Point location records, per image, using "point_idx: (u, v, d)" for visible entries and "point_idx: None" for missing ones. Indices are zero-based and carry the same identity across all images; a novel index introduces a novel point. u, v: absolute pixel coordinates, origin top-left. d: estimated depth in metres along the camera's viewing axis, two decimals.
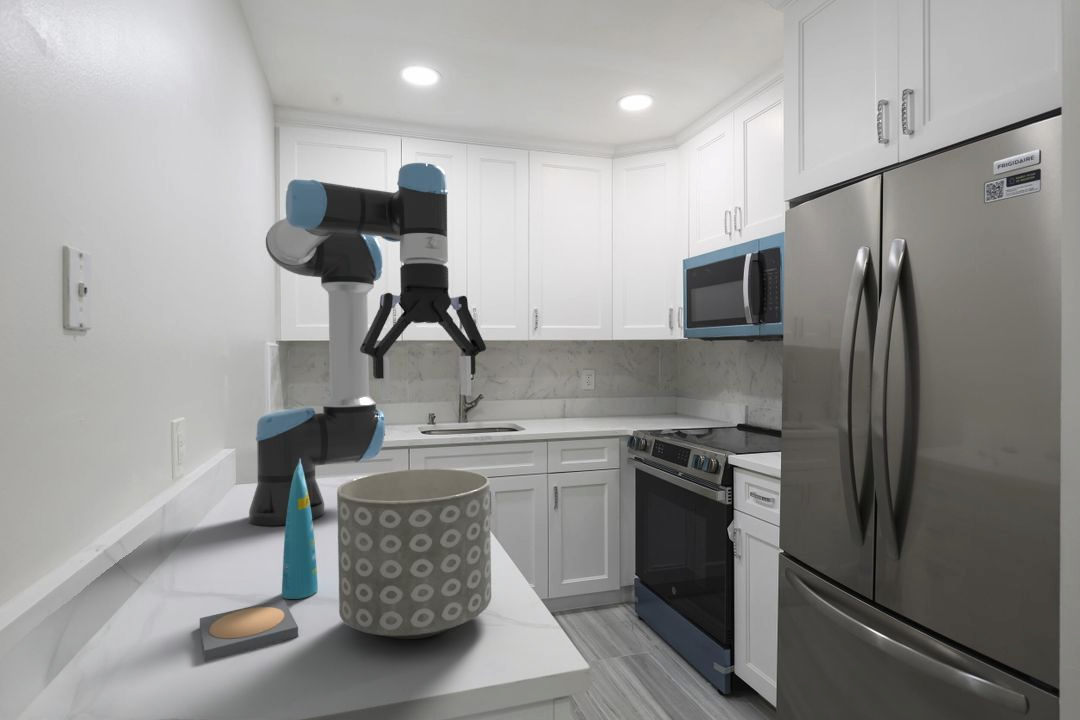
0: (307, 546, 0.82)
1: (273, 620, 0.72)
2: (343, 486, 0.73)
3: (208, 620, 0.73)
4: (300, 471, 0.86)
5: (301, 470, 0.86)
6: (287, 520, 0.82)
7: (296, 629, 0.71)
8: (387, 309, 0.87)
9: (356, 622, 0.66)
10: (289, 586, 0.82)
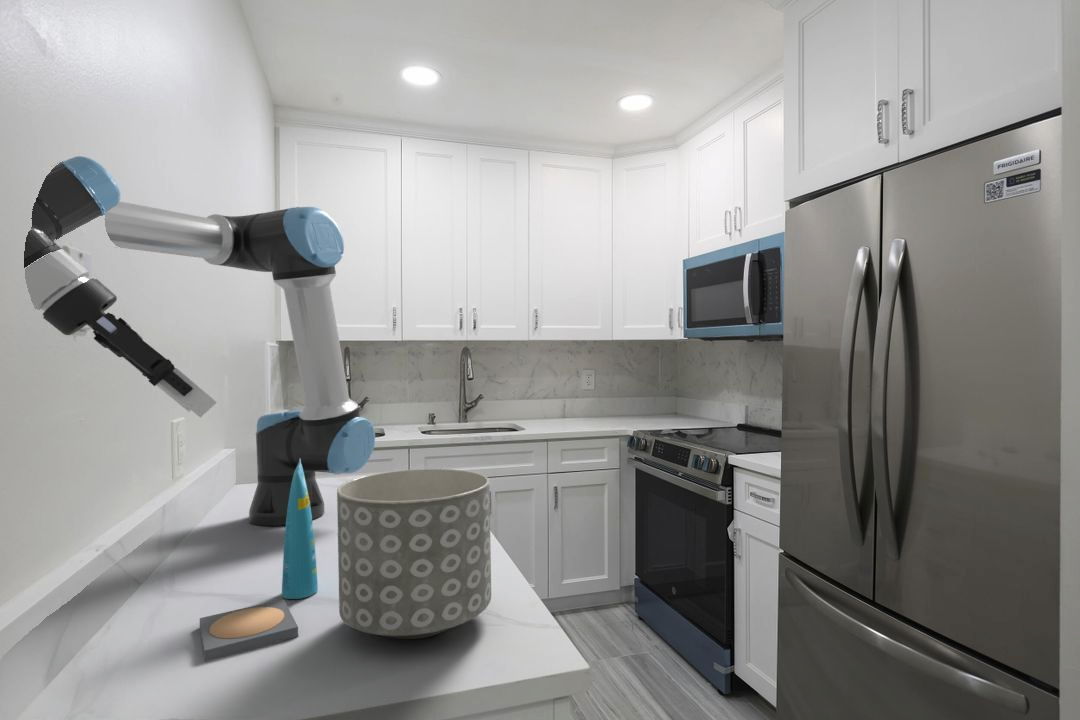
0: (307, 546, 0.82)
1: (273, 620, 0.72)
2: (343, 486, 0.73)
3: (208, 620, 0.73)
4: (300, 471, 0.86)
5: (301, 470, 0.86)
6: (287, 520, 0.82)
7: (296, 629, 0.71)
8: None
9: (356, 622, 0.66)
10: (289, 586, 0.82)
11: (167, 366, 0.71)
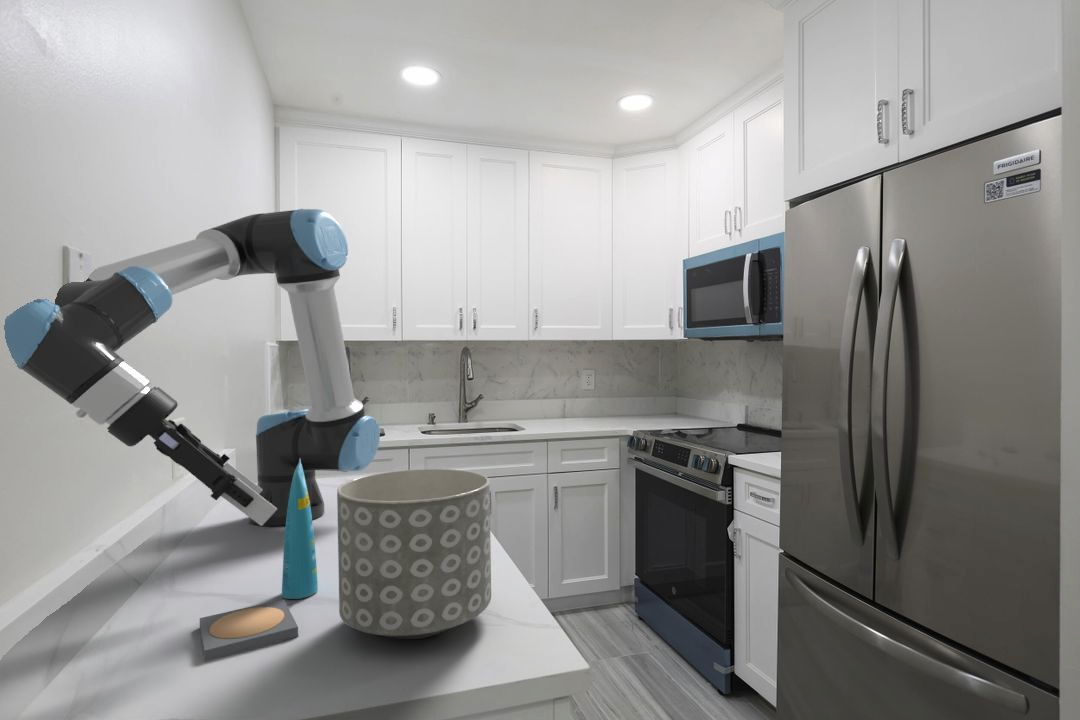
0: (307, 546, 0.82)
1: (273, 620, 0.72)
2: (343, 486, 0.73)
3: (208, 620, 0.73)
4: (300, 471, 0.86)
5: (301, 470, 0.86)
6: (287, 520, 0.82)
7: (296, 629, 0.71)
8: None
9: (356, 622, 0.66)
10: (289, 586, 0.82)
11: (228, 481, 0.70)
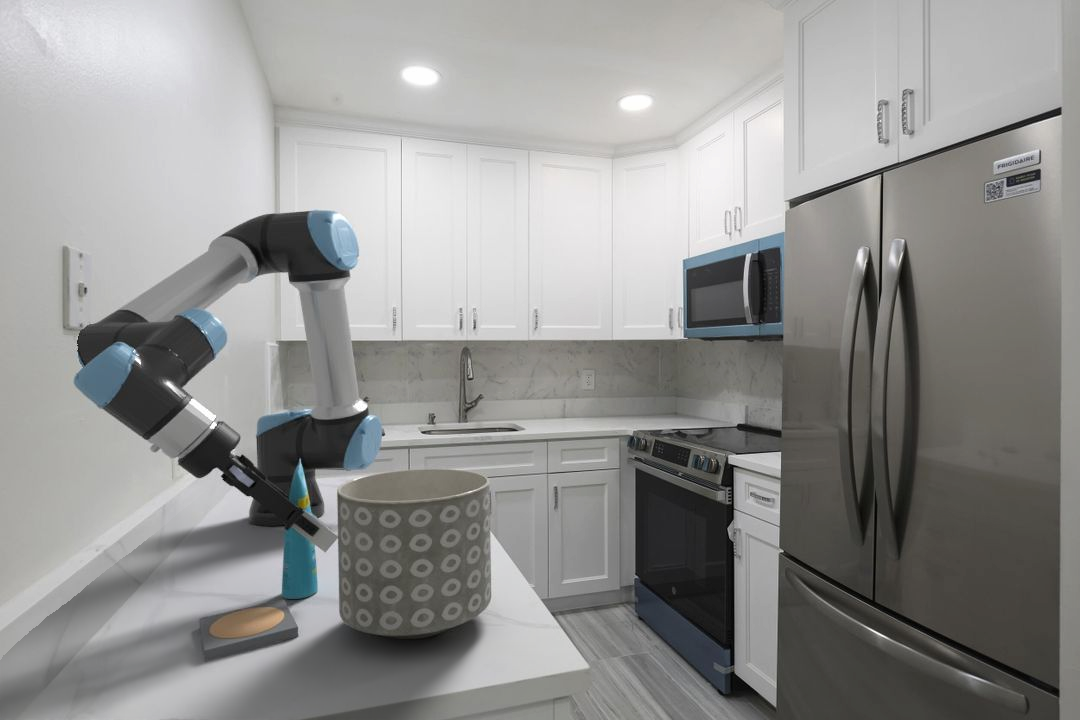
0: (307, 546, 0.82)
1: (273, 620, 0.72)
2: (343, 486, 0.73)
3: (208, 620, 0.73)
4: (300, 471, 0.86)
5: (301, 470, 0.86)
6: None
7: (296, 629, 0.71)
8: None
9: (356, 622, 0.66)
10: (289, 586, 0.82)
11: (299, 514, 0.78)
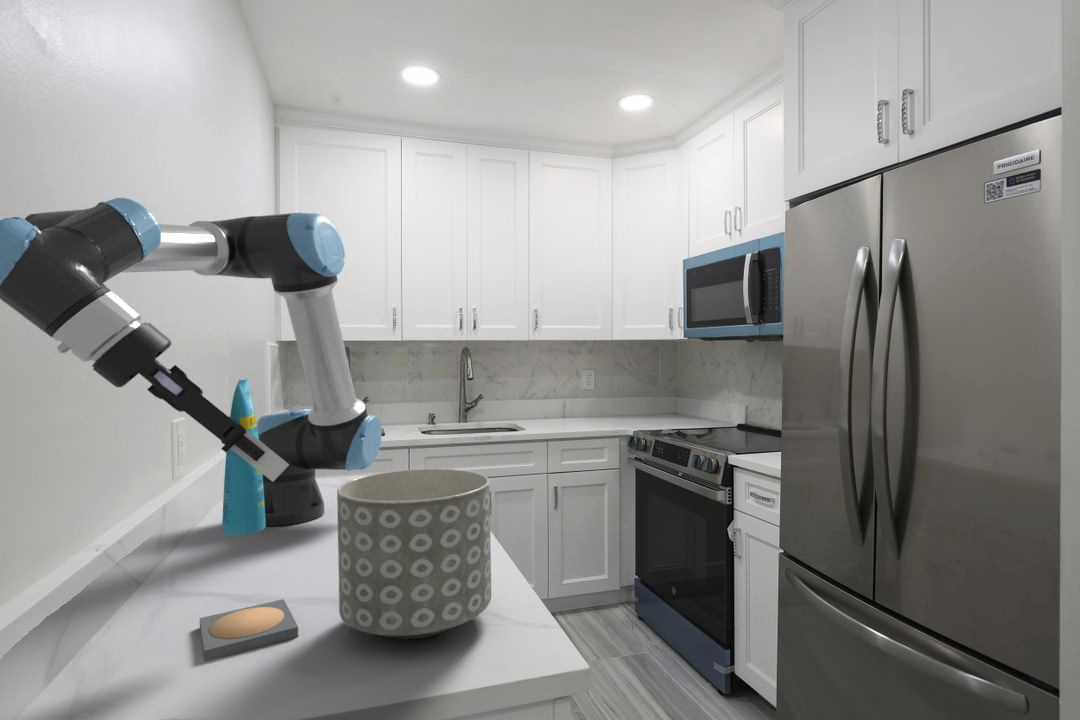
0: (251, 474, 0.70)
1: (273, 620, 0.72)
2: (343, 486, 0.73)
3: (208, 620, 0.73)
4: (246, 389, 0.74)
5: (247, 389, 0.74)
6: None
7: (296, 629, 0.71)
8: None
9: (356, 622, 0.66)
10: (230, 520, 0.70)
11: (239, 432, 0.66)
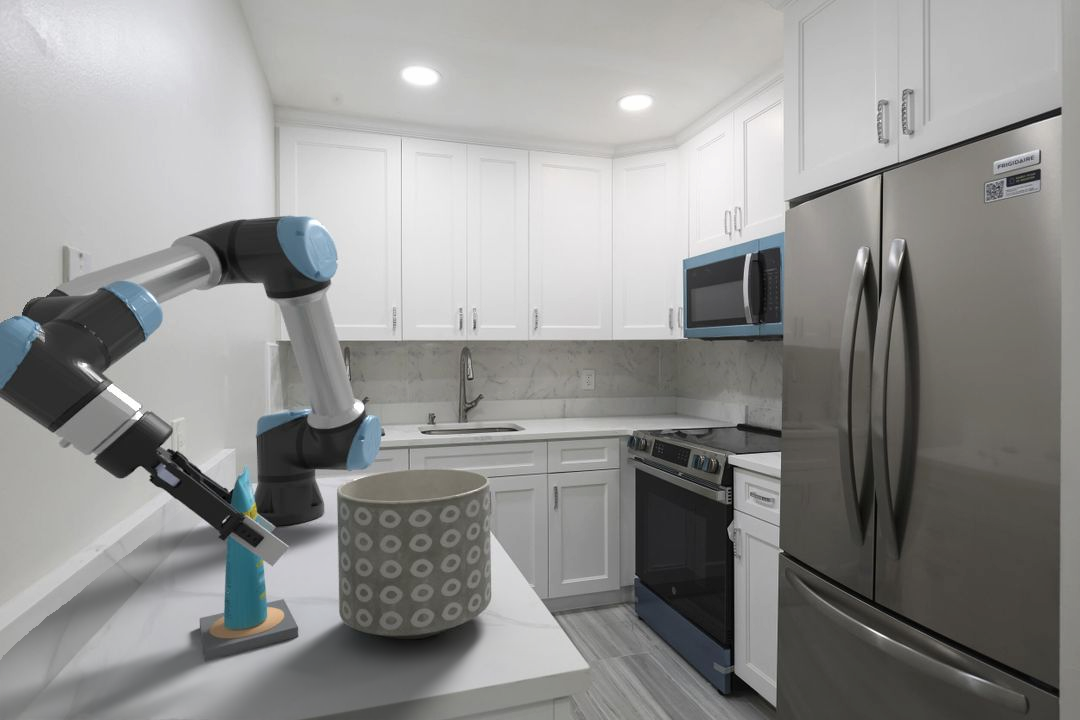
0: (252, 568, 0.70)
1: (273, 620, 0.72)
2: (343, 486, 0.73)
3: (208, 620, 0.73)
4: (246, 479, 0.74)
5: (247, 478, 0.74)
6: (228, 537, 0.70)
7: (296, 629, 0.71)
8: None
9: (356, 622, 0.66)
10: (231, 615, 0.70)
11: (237, 521, 0.64)
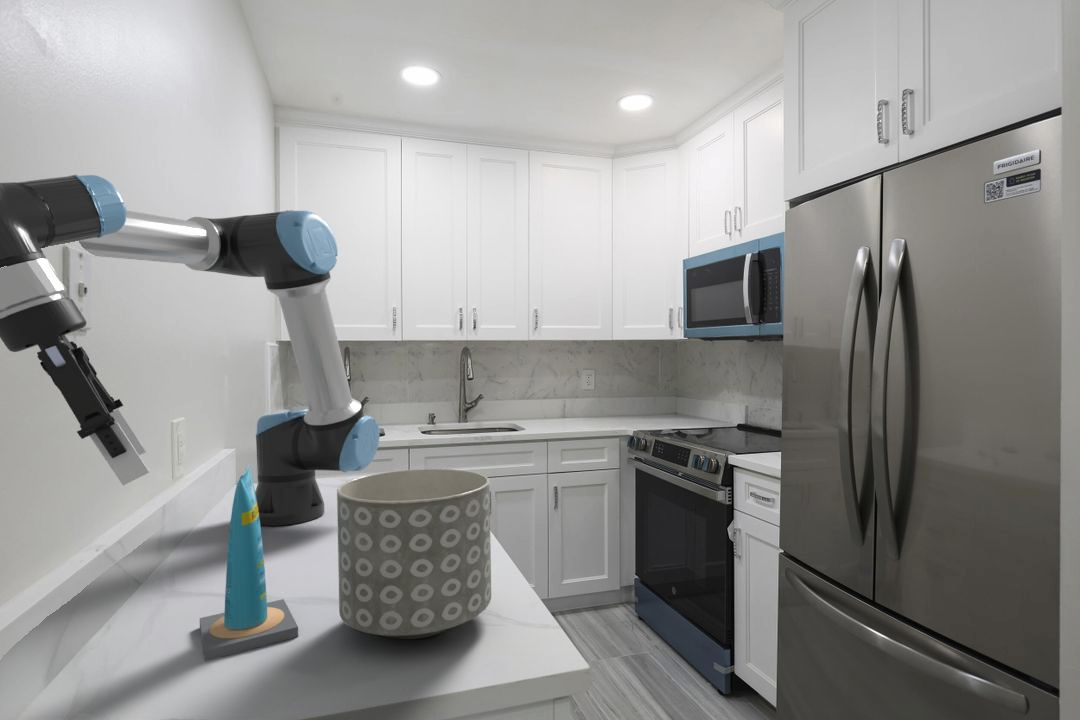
0: (253, 568, 0.70)
1: (273, 620, 0.72)
2: (343, 486, 0.73)
3: (208, 620, 0.73)
4: (248, 479, 0.74)
5: (249, 478, 0.74)
6: (229, 537, 0.70)
7: (296, 629, 0.71)
8: None
9: (356, 622, 0.66)
10: (232, 615, 0.70)
11: (104, 421, 0.60)
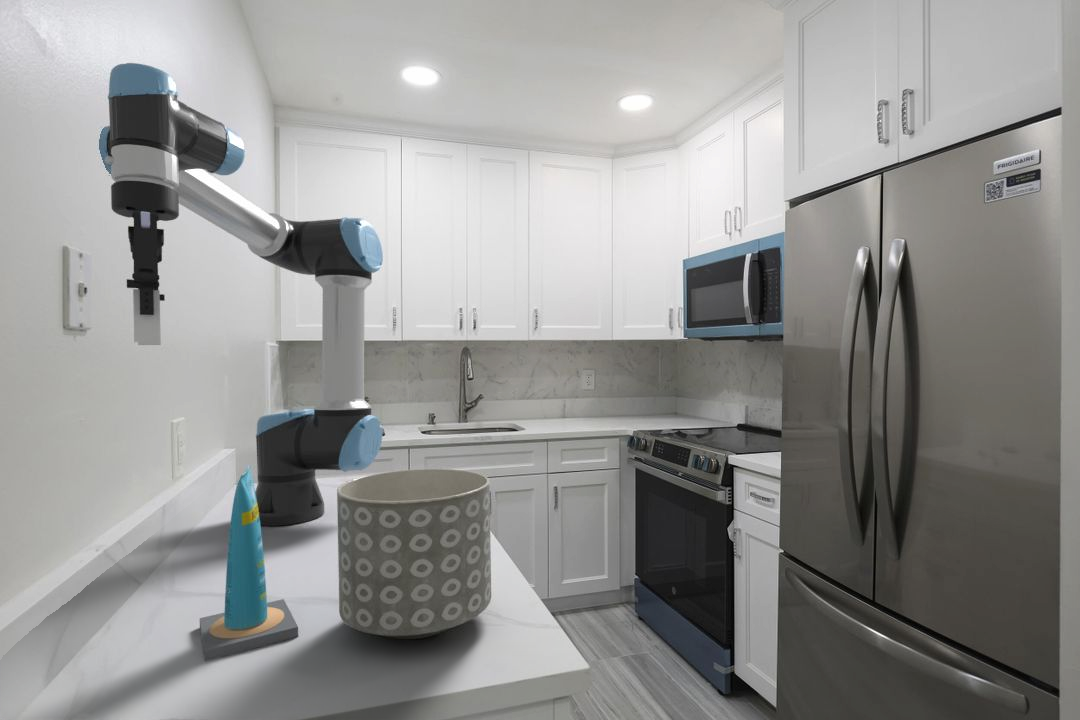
0: (253, 568, 0.70)
1: (273, 620, 0.72)
2: (343, 486, 0.73)
3: (208, 620, 0.73)
4: (248, 479, 0.74)
5: (249, 478, 0.74)
6: (230, 537, 0.70)
7: (296, 629, 0.71)
8: None
9: (356, 622, 0.66)
10: (232, 615, 0.70)
11: (152, 279, 0.69)
